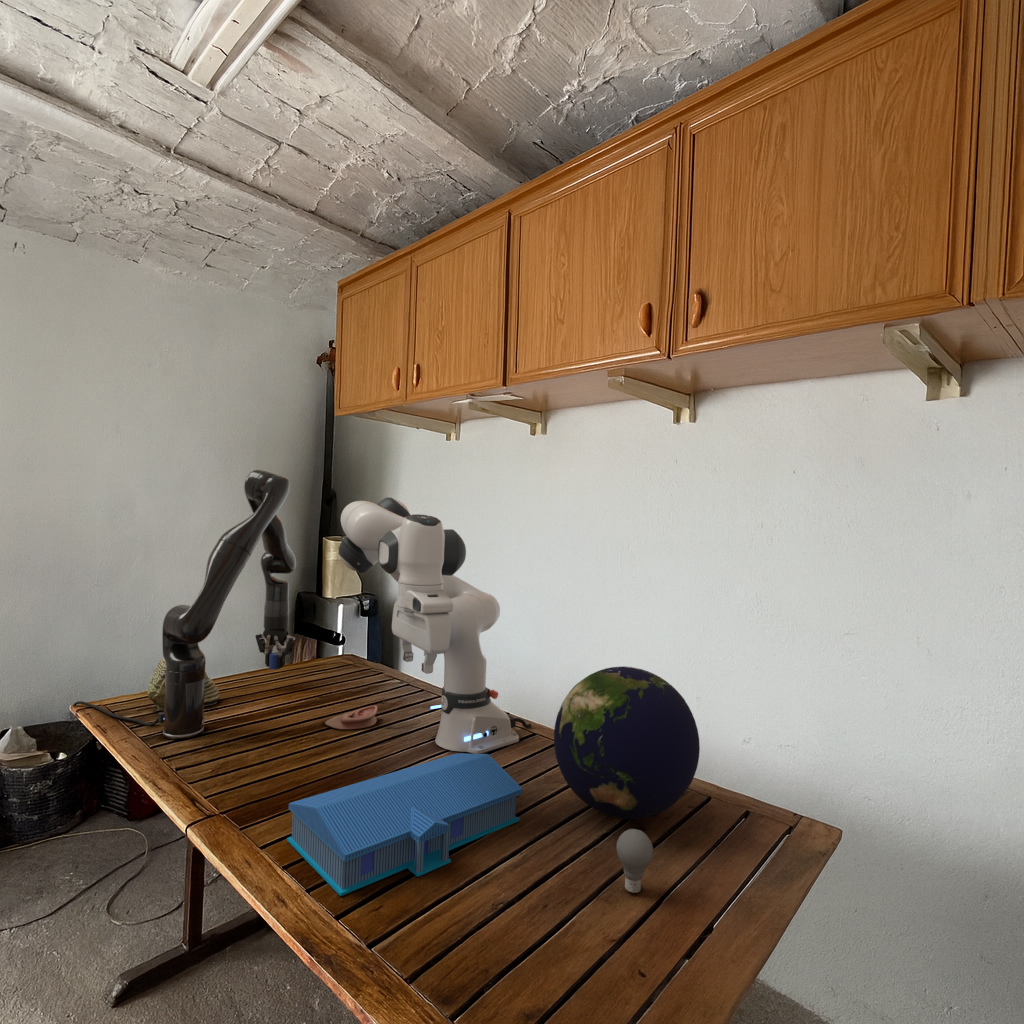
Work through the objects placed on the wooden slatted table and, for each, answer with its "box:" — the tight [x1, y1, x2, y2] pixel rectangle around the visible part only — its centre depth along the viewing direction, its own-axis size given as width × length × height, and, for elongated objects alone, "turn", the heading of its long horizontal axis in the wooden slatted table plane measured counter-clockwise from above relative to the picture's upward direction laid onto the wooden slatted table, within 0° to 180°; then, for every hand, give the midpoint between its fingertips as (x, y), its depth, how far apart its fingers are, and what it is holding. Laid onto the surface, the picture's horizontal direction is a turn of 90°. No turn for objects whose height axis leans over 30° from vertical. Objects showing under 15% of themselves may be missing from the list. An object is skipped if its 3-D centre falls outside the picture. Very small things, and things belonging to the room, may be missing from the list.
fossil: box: [147, 656, 221, 712], centre depth 185 cm, size 9×18×15 cm, turn 132°
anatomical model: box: [324, 704, 378, 730], centre depth 177 cm, size 13×4×12 cm
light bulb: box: [615, 828, 654, 894], centre depth 106 cm, size 6×6×10 cm
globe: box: [553, 665, 700, 820], centre depth 133 cm, size 30×30×30 cm
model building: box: [286, 752, 524, 897], centre depth 121 cm, size 39×24×10 cm, turn 132°
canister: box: [268, 651, 281, 671], centre depth 203 cm, size 4×4×5 cm
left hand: (274, 666), depth 203 cm, fingers closed on canister, 3 cm apart
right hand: (417, 666), depth 126 cm, fingers open, 8 cm apart
